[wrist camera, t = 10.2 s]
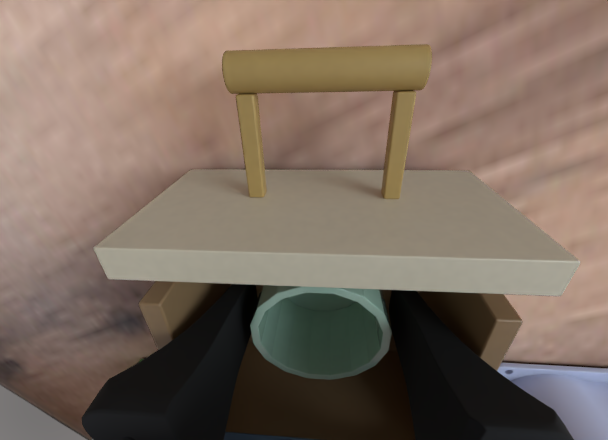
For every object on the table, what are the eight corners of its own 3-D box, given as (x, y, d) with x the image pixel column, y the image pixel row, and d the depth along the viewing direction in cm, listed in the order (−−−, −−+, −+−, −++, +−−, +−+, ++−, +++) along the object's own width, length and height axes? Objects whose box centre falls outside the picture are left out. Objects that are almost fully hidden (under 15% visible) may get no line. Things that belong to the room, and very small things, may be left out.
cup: (370, 310, 16) (382, 383, 13) (274, 306, 17) (258, 375, 13) (381, 226, 13) (400, 289, 10) (265, 224, 14) (241, 283, 10)
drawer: (163, 55, 11) (-4, 52, 6) (503, 44, 10) (719, 28, 5) (230, 336, 20) (189, 447, 14) (419, 346, 19) (458, 471, 13)
